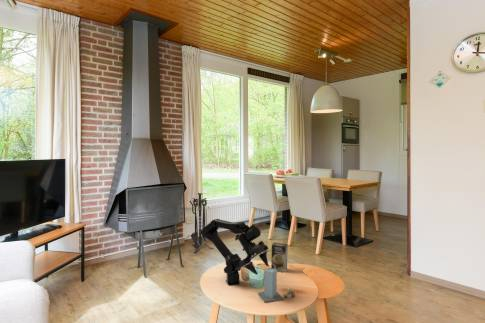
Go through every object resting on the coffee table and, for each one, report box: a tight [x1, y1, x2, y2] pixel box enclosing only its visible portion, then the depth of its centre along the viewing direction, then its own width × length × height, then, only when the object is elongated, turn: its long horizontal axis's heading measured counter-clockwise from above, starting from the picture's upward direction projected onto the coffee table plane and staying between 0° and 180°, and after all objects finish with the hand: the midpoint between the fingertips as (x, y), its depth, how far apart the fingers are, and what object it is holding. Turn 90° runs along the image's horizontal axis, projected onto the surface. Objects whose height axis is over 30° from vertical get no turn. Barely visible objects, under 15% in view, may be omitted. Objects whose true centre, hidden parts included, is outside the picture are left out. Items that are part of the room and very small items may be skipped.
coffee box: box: [270, 242, 288, 273], centre depth 189 cm, size 9×6×16 cm
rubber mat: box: [257, 291, 285, 303], centre depth 153 cm, size 10×10×1 cm
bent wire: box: [283, 287, 295, 299], centre depth 154 cm, size 6×5×3 cm
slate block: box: [263, 267, 278, 298], centre depth 152 cm, size 5×5×13 cm
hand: (262, 270), depth 159 cm, fingers open, 9 cm apart
